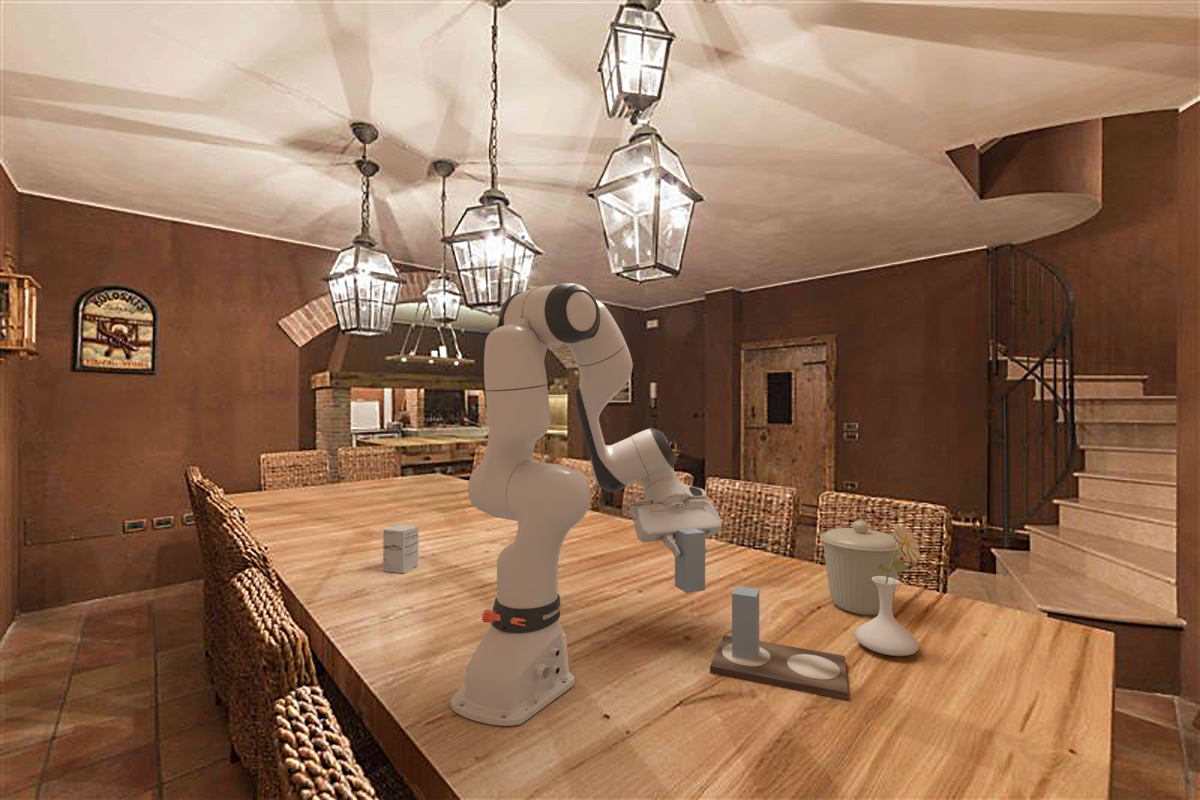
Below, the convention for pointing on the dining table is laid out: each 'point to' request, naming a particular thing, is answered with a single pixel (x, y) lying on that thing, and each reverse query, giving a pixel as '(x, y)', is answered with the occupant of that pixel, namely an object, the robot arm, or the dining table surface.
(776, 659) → the board
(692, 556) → the gray rectangular block
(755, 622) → the pin
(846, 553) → the canister
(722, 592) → the dining table surface
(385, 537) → the supplement box
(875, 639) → the flower in vase
